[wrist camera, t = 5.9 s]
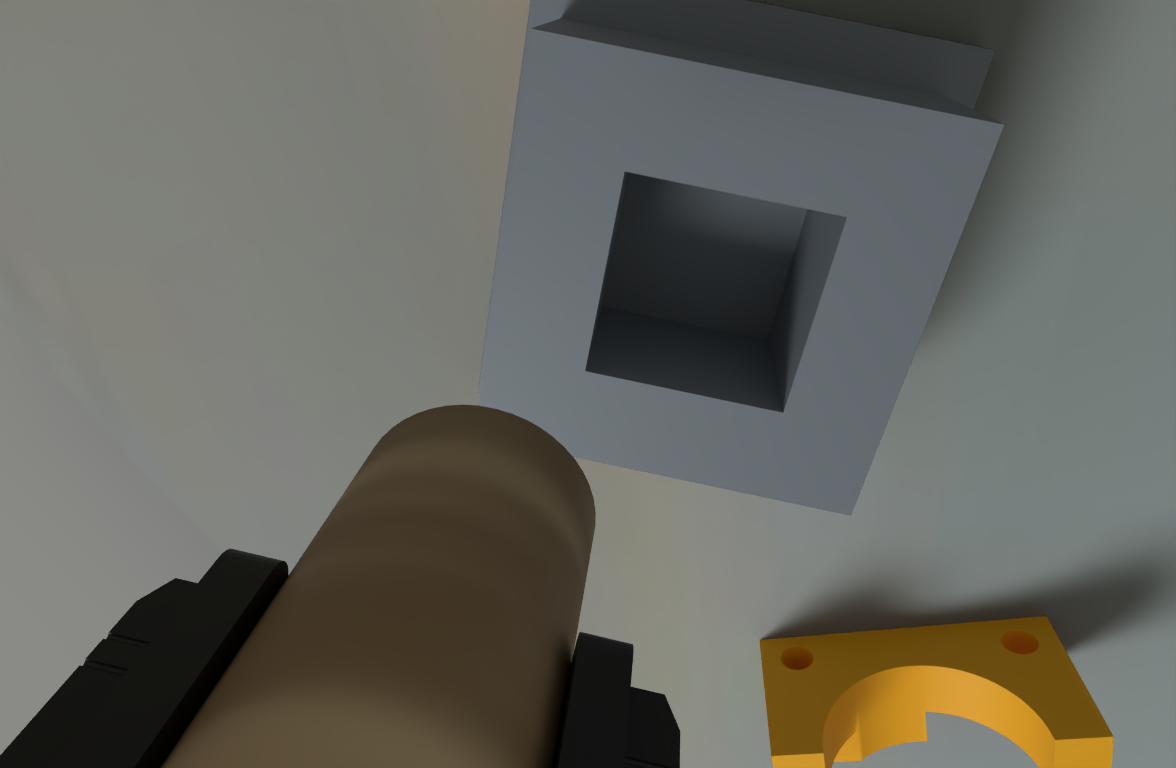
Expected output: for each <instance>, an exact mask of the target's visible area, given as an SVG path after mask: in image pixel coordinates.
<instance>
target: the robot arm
mask: <svg viewBox="0 0 1176 768" xmlns="http://www.w3.org/2000/svg"><path fill="white" fill-rule="evenodd" d="M287 577H288V566H287V563H286V562H285V561H281V560H277V559H273V558H268V557H264V556H260V555H256V554H251V553H247V552H243V551H239V550H234V549H228V550H226V551H225V552H224V553H222V554H221V556H220V557H219V558H218V559H217V560H216V561H215V563H214V564H213V565H212V567H211V568H210V569H209V570H208V571H207V573H206V574H205V575H204V576H203V578H202V579H201V580H200V581H199V583H194V582H190V581H186V580H181V579H177V578H175V579H173V580H172V581H170V582H168V583H167V584H165V585H163V586H161V587H160V588H158V589H156V590H155V591H153V592H151V593H150V594H148V595H146V596H144V597H143V598H141V599H140V600H138V601H136V602H135V603H134V605H133V606H132V607H131V608H130V609H129V610H128V611H127V612H126V614H125V615H124V616H123V617H122V618H121V619H120V620H119V621H118V623H117V624H116V625H115V626H114V627H113V628H112V630H111V631H110V632H109V635H108V637H107V639H103V640H102V641H101V642H100V643H99V644H98V645H97V646H96V648H95V649H94V650H93V651H92V652H91V653H90V654H89V656H88V657H87V658H86V660H85V663H84V665H83V666H79V667H78V668H77V669H76V670H75V671H74V672H73V674H72V675H71V676H70V677H69V678H68V679H67V680H66V682H65V683H64V684H63V685H62V686H61V687H60V689H59V690H58V691H57V692H56V693H55V694H54V695H53V696H52V698H51V699H50V700H49V701H48V702H47V703H46V704H45V705H44V706H43V708H42V709H41V710H40V711H39V712H38V713H37V715H36V716H35V717H34V718H33V719H32V720H31V721H30V722H29V723H28V725H27V726H26V727H25V728H24V729H23V730H22V731H21V733H20V734H19V735H18V736H17V737H16V738H15V740H13V742H12V743H11V744H10V745H9V746H8V747H7V748H6V749H5V751H4V752H3V753H2V754H1V755H0V768H161V766H162V765H163V763H164V762H165V760H166V759H167V757H168V756H169V754H170V753H171V751H172V750H173V748H174V747H175V745H176V744H177V742H178V741H179V739H180V738H181V736H182V735H183V733H184V732H185V730H186V729H187V727H188V726H189V724H190V723H191V721H192V720H193V718H194V717H195V715H196V714H197V712H198V711H199V709H200V708H201V706H202V705H203V703H204V702H205V700H206V699H207V697H208V696H209V694H210V693H211V691H212V690H213V688H214V687H215V685H216V684H217V682H218V681H219V679H220V678H221V676H222V675H223V673H224V672H225V670H226V669H227V667H228V666H229V664H230V663H231V661H232V660H233V658H234V657H235V655H236V654H237V652H238V651H239V649H240V648H241V646H242V645H243V643H244V642H245V640H246V639H247V637H248V636H249V634H250V633H251V631H252V630H253V628H254V627H255V625H256V624H257V622H258V621H259V619H260V618H261V616H262V615H263V613H264V612H265V610H266V609H267V607H268V606H269V604H270V603H271V601H272V600H273V598H274V597H275V595H276V594H277V592H278V591H279V589H280V588H281V586H282V585H283V583H284V582H285V580H286V579H287ZM632 663H633V644H629V643H625V642H621V641H616V640H612V639H608V638H604V637H599V636H595V635H591V634H587V633H583V632H580V633H579V635H578V639H577V642H576V646H575V650H574V653H573V657H572V661H571V666H570V672H569V677H568V683H567V689H566V695H565V701H564V706H563V712H562V718H561V724H560V729H559V735H558V741H557V747H556V752H555V758H554V764H553V768H680V730H679V727H678V725H677V723H676V720H675V718H674V715H673V713H672V711H671V708H670V706H669V704H668V701H667V699H666V697H665V695H664V694H660V693H655V692H651V691H647V690H643V689H638V688H634V687H630V686H631V674H632Z"/></svg>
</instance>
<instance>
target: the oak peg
mask: <svg viewBox="0 0 1176 768" xmlns="http://www.w3.org/2000/svg"><path fill="white" fill-rule="evenodd" d="M594 530H595V506H594V499H593V495H592V492H591V489H590V486H589V483H588V481H587V479H586V477H585V475H584V473H583V471H582V469H581V468H580V466H579V465H578V463H577V462H576V460H575V459H574V458H573V456H572V455H571V454H570V453H569V452H568V451H567V449H566V448H565V447H564V446H563V445H562V444H560V443H559V442H558V441H557V440H556V439H555V438H554V437H553V436H551V435H550V434H549V433H547V432H546V431H544V430H543V429H542V428H540V427H538V426H537V425H535V424H533V423H531V422H530V421H528V420H526V419H523V418H521V417H519V416H516V415H514V414H512V413H508V412H505V411H502V410H498V409H495V408H489V407H483V406H475V405H452V406H443V407H438V408H432V409H429V410H426V411H423V412H420V413H417V414H415V415H413V416H411V417H409V418H407V419H405V420H403V421H402V422H400V423H399V424H397V425H396V426H394V427H393V428H392V429H391V430H389V431H388V432H387V433H386V434H385V435H384V436H383V437H382V438H381V440H380V441H379V442H378V443H377V445H376V446H375V447H374V449H373V450H372V452H371V453H370V455H369V456H368V458H367V459H366V461H365V462H364V464H363V465H362V467H361V468H360V470H359V471H358V473H357V474H356V476H355V477H354V479H353V480H352V482H351V483H350V485H349V486H348V488H347V489H346V491H345V492H344V494H343V495H342V497H341V498H340V500H339V501H338V503H337V504H336V506H335V507H334V509H333V510H332V512H331V513H330V515H329V516H328V518H327V519H326V521H325V522H324V524H323V525H322V527H321V528H320V530H319V531H318V533H317V534H316V536H315V537H314V539H313V540H312V542H311V543H310V545H309V546H308V548H307V549H306V550H305V552H304V553H303V555H302V556H301V558H300V559H299V561H298V562H297V564H296V565H295V567H294V568H293V570H292V571H291V573H290V574H289V576H288V577H287V579H286V580H285V582H284V583H283V585H282V586H281V588H280V589H279V591H278V592H277V594H276V595H275V597H274V598H273V600H272V601H271V603H270V604H269V606H268V607H267V609H266V610H265V612H264V613H263V615H262V616H261V618H260V619H259V621H258V622H257V624H256V625H255V627H254V628H253V630H252V631H251V633H250V634H249V636H248V637H247V639H246V640H245V642H244V643H243V645H242V646H241V648H240V649H239V651H238V652H237V654H236V655H235V657H234V658H233V660H232V661H231V663H230V664H229V666H228V667H227V669H226V670H225V672H224V673H223V675H222V676H221V678H220V679H219V681H218V682H217V684H216V685H215V687H214V688H213V690H212V691H211V693H210V694H209V696H208V697H207V699H206V700H205V702H204V703H203V705H202V706H201V708H200V709H199V711H198V712H197V714H196V715H195V717H194V718H193V720H192V721H191V723H190V724H189V726H188V727H187V729H186V730H185V732H184V733H183V735H182V736H181V738H180V739H179V741H178V742H177V744H176V745H175V747H174V748H173V750H172V751H171V753H170V754H169V756H168V757H167V759H166V760H165V762H164V763H163V765H162V766H161V768H553V764H554V758H555V752H556V747H557V741H558V735H559V729H560V724H561V718H562V712H563V706H564V701H565V695H566V689H567V683H568V677H569V672H570V666H571V661H572V657H573V652H574V646H575V640H576V634H577V629H578V623H579V617H580V611H581V605H582V600H583V594H584V588H585V582H586V576H587V570H588V565H589V559H590V553H591V547H592V541H593V536H594Z"/></svg>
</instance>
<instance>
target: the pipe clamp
mask: <svg viewBox="0 0 1176 768" xmlns="http://www.w3.org/2000/svg"><path fill="white" fill-rule="evenodd" d="M760 650H761V659H762V669H763V679H764V688H765V698H766V708H767V718H768V727H769V737H770V747H771V756H772V762H773V768H832V764H833V762H846V761H861V760H862V759H863V758H865V757H867V756H868V755H870V754H872V753H873V752H876V751H878V750H880V749H882V748H885V747H888V746H891V745H896V744H900V743H906V742H917V741H927V733H926V716H925V712H938V713H945V714H951V715H956V716H960V717H964V718H967V719H970V720H973V721H976V722H978V723H981V724H983V725H985V726H988V727H989V728H991V729H993V730H995V731H997V732H999V733H1001V734H1002V735H1004V736H1006V737H1007V738H1009V739H1010V740H1011V741H1013V742H1014V743H1015V744H1017V745H1018V746H1019V747H1020V748H1022V749H1023V750H1024V751H1025V752H1026V753H1027V754H1028V755H1029V756H1030V757H1031V758H1032V759H1033V760H1034V761H1035V762H1036V763H1037V765H1038V766H1039V767H1040V768H1112V753H1113V738H1114V737H1113V735H1112V733H1111V731H1110V729H1109V728H1108V726H1107V724H1106V722H1105V720H1104V719H1103V717H1102V715H1101V713H1100V711H1099V710H1098V708H1097V706H1096V704H1095V702H1094V701H1093V699H1092V697H1091V695H1090V693H1089V692H1088V690H1087V688H1086V686H1085V684H1084V683H1083V681H1082V679H1081V677H1080V675H1079V674H1078V672H1077V670H1076V668H1075V666H1074V665H1073V663H1072V661H1071V659H1070V657H1069V656H1068V654H1067V652H1066V650H1065V648H1064V647H1063V645H1062V643H1061V641H1060V639H1059V638H1058V636H1057V634H1056V632H1055V630H1054V629H1053V627H1052V625H1051V623H1050V621H1049V620H1048V618H1047V616H1040V617H1028V618H1016V619H1004V620H992V621H980V622H968V623H956V624H944V625H932V626H920V627H908V628H896V629H884V630H872V631H861V632H849V633H837V634H825V635H813V636H801V637H789V638H777V639H765V640H760Z"/></svg>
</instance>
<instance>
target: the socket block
mask: <svg viewBox="0 0 1176 768" xmlns="http://www.w3.org/2000/svg"><path fill="white" fill-rule="evenodd" d="M995 52H996V51H994V50H990V49H986V48H982V47H978V46H973V45H968V44H963V43H958V42H953V41H948V40H943V39H938V38H933V37H928V36H923V35H918V34H913V33H909V32H904V31H899V30H894V29H889V28H884V27H879V26H874V25H869V24H864V23H859V22H854V21H849V20H844V19H839V18H834V17H829V16H824V15H819V14H814V13H809V12H804V11H799V10H795V9H790V8H785V7H780V6H775V5H770V4H765V3H760V2H755V1H750V0H531V1H530V8H529V16H528V23H527V30H526V38H525V45H524V53H523V60H522V67H521V75H520V82H519V90H518V97H517V104H516V112H515V119H514V127H513V134H512V142H511V149H510V156H509V164H508V171H507V179H506V186H505V193H504V201H503V208H502V216H501V223H500V230H499V238H498V245H497V253H496V260H495V268H494V275H493V282H492V290H491V297H490V305H489V312H488V319H487V327H486V334H485V342H484V349H483V356H482V364H481V371H480V379H479V386H478V393H480V394H481V395H480V402H479V406H483V407H489V408H495V409H498V410H502V411H505V412H508V413H512V414H514V415H516V416H519V417H521V418H523V419H526V420H528V421H530V422H531V423H533V424H535V425H537V426H538V427H540V428H542V429H543V430H544V431H546V432H547V433H549V434H550V435H551V436H553V437H554V438H555V439H556V440H557V441H558V442H559V443H560V444H562V445H563V446H564V447H565V448H566V449H567V451H568V452H569V453H570V454H571V455H572V456H573V457H577V458H582V459H586V460H591V461H596V462H601V463H605V464H610V465H615V466H619V467H624V468H629V469H634V470H638V471H643V472H648V473H652V474H657V475H662V476H667V477H671V478H676V479H681V480H685V481H690V482H695V483H700V484H704V485H709V486H714V487H718V488H723V489H728V490H733V491H737V492H742V493H747V494H751V495H756V496H761V497H766V498H770V499H775V500H780V501H784V502H789V503H794V504H799V505H803V506H808V507H813V508H817V509H822V510H827V511H832V512H836V513H841V514H846V515H850V516H851V514H852V511H853V509H854V506H855V504H856V501H857V499H858V496H859V494H860V491H861V489H862V486H863V483H864V481H865V478H866V476H867V473H868V471H869V468H870V466H871V463H872V461H873V458H874V455H875V453H876V450H877V448H878V445H879V443H880V440H881V438H882V435H883V433H884V430H885V428H886V425H887V422H888V420H889V417H890V415H891V412H892V410H893V407H894V405H895V402H896V400H897V397H898V394H899V392H900V389H901V387H902V384H903V382H904V379H905V377H906V374H907V372H908V369H909V366H910V364H911V361H912V359H913V356H914V354H915V351H916V349H917V346H918V344H919V341H920V339H921V336H922V333H923V331H924V328H925V326H926V323H927V321H928V318H929V316H930V313H931V311H932V308H933V305H934V303H935V300H936V298H937V295H938V293H939V290H940V288H941V285H942V283H943V280H944V277H945V275H946V272H947V270H948V267H949V265H950V262H951V260H952V257H953V255H954V252H955V249H956V247H957V244H958V242H959V239H960V237H961V234H962V232H963V229H964V227H965V224H966V222H967V219H968V216H969V214H970V211H971V209H972V206H973V204H974V201H975V199H976V196H977V194H978V191H979V188H980V186H981V183H982V181H983V178H984V176H985V173H986V171H987V168H988V166H989V163H990V160H991V158H992V155H993V153H994V150H995V148H996V145H997V143H998V140H999V138H1000V135H1001V133H1002V130H1003V127H1004V124H1002V123H1000V122H998V121H996V120H993V119H991V118H989V117H987V116H985V115H983V114H981V113H979V112H977V111H975V110H974V108H975V105H976V102H977V100H978V97H979V94H980V92H981V89H982V86H983V84H984V81H985V78H986V76H987V73H988V70H989V68H990V65H991V62H992V60H993V57H994V54H995Z"/></svg>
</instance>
